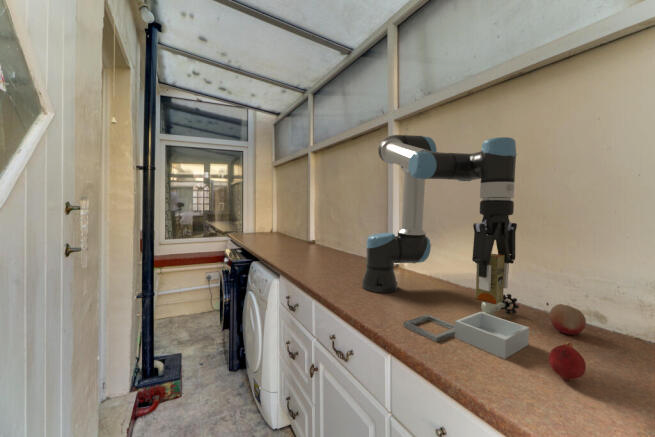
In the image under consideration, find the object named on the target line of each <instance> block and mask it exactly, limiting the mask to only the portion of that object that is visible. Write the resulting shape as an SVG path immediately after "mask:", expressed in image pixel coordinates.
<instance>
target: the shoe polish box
mask: <svg viewBox="0 0 655 437" xmlns="http://www.w3.org/2000/svg"><path fill="white" fill-rule="evenodd" d="M504 256H505V255H499V254H498V253H497V254H496V253H491V257H490V261H489V264H488V265H491V287H490V291H486V290H482V289H479V275H478V274H479V264H478V263H476V275H475V276H476V277H475V278H476V279H475V283H476V284H475V300H477V301H480V302H483V301H484V302H488V303H492V304H498V303H500V302H501V301H503V295H504V289H505V288H504ZM477 258H478V257H477ZM484 260H485V259H484Z"/></svg>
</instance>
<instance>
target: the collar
mask: <svg viewBox="0 0 655 437" xmlns="http://www.w3.org/2000/svg"><path fill="white" fill-rule="evenodd" d="M427 321H429V322H431V323H434V324H437V325H439V326H442V327H444V328H447V330H445V331H442V332H439V333H436V334H435V333H432V332H431V331H428V330H426V329H423V328H422V327H420V326H417V325H418V324H421V323H424V322H427ZM402 327H403V328H406V329H408V330H410V331H412V332H414V333H417V334H419V335H421V336H422V337H425V338H426V339H429V340H431V341H433V342H435V343H438V342H440V341H443V340H445V339H448V338H450V337H453V336H455V323H454V324H453V323H450V322H448V321H447V320H446V321H445V320H443V319H441V318H439V317H436V316H433V315H431V314H428V313H427V314H425V315H421V316H418V317H415V318H412V319H409V320H405V321H403V322H402Z"/></svg>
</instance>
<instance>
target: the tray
mask: <svg viewBox="0 0 655 437" xmlns="http://www.w3.org/2000/svg"><path fill="white" fill-rule="evenodd" d="M454 325H455V335H454V338H455V339H456V340H460V341H461V342H465V343H466V344H469V345H470V346H473V347H475V348H478V349H481V350H482V351H485V352H487V353H490V354H492V355H494V356H497V357H499V358H501V359H503V360H506V359H507V358H509V357H510V356H512V355H514V354H515V353H517V352H519V351H520V350H522V349H524V348H526V347H528V346H529V339H530V338H529V337H530V335H529V334H530V327H529V326H526V325H524V324H520V323H516V322H515V321H514V322H513V321H510V320H507V319H504V318H500V317H499V316H496V315H495V316H492V315H489V314H486V313H483V312H482V311H478V312H475V313H473V314H470V315H467V316H465V317H462V318H460V319H456V320H455V321H454Z"/></svg>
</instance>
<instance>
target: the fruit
mask: <svg viewBox="0 0 655 437" xmlns="http://www.w3.org/2000/svg"><path fill="white" fill-rule="evenodd" d="M548 318H549V320H550V322H551V324H552V326H553V327H554V328H555V329H556V331H559V332H560V333H562V334H564V335H569V336H570V335H571V336H574V335H578V334H580V333H581V332H582V331H584V329H585V327H586V325H587V320H586V319H587V318H586V317H585V314H584V313H583V312H582V311H581V310H579V309H578V308H575V307H573V306H570V305H568V304H561V303H559V304H556V305H554V306H552V308H551V310H550V311H549V314H548Z"/></svg>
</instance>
